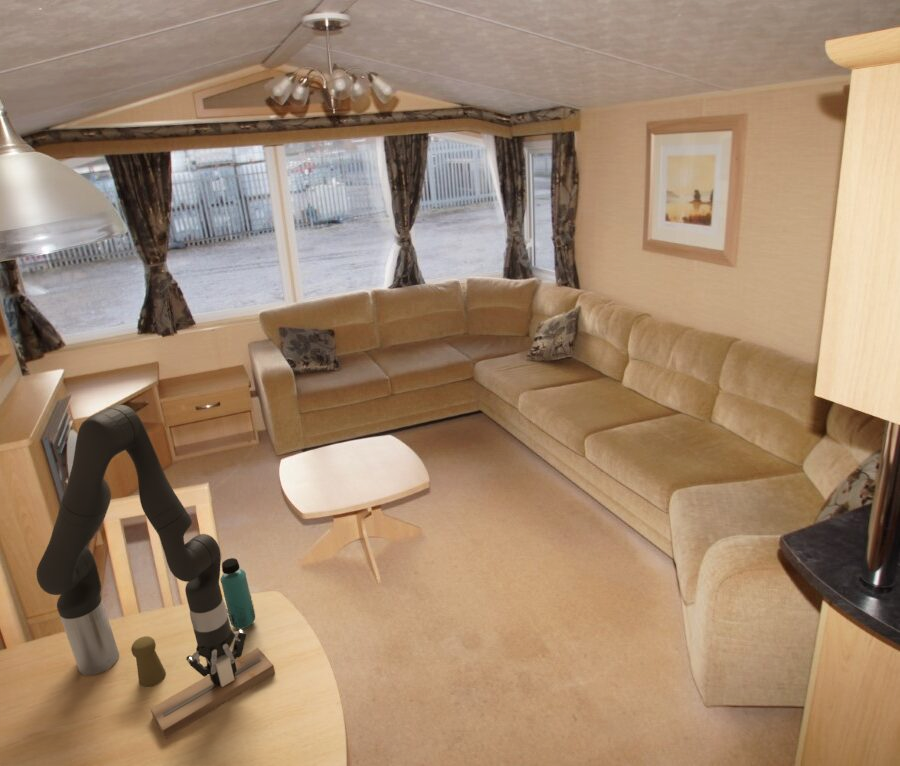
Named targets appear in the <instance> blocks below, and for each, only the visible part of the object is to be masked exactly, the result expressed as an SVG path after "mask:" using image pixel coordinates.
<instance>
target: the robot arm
mask: <svg viewBox="0 0 900 766" xmlns="http://www.w3.org/2000/svg"><path fill="white" fill-rule="evenodd" d="M146 429H147V428H146V427H145V425H144V423H143V421H142V419H141V418H140V415H138V414H137V411H135V410H134V409H133V408H131V407H130V406H128V405H125V404H115V405H113V406H110V407H107V408H106V409H104V410H101V411H100V412H97V413H95V414H92V415H90V416H89V417H87V418H86V419H85V420H84V421H82V423H81V424H80V426H79V428H78V430H77V431H78V432H77V434H76V435H77V436H76V442H75V447H74V455H73V459H72V460H73V461H72V466H71V469H70V473H69V477H68V479H67V480H68V481H67V483H66V487H65V490H64V492H63V495H62V498H61V502H60V505H59V509H58V511H57V512H58V514H57V516H56V520H55V523H54V525H53V529H52V533H51V536H50V539H49V542H48V544H47V547H46V549H45V551H44V553H43V555H42V557H41V559H40V561H39V563H38V566H37V568H36V580H37V583H38V585H39V587H40V588H41V589H42V590H43V592H45V593H47V594H48V595H52V596H59V597H58V599H57V602H56V609H57V612H58V614H59V617H60V618H59V619H60V620H61V623H62V626H63V628H64V631H65V634H66V637H67V640H68V643H69V646H70V648H71V651H72V655H73V657H74V660H75V663H76V666H77V668H78V669H77V670H78V671H79V673H80V674H81V675H83V676H95V675H98V674H99V675H100V674H101V673H104V672H106V671H108V670H109V669H111V668H112V667H113V666H114V665H115V664H116V663H117V661H119V658H120V653H119V650H118V649H119V648H118V645H117V642H116V639H115V636H114V633H113V630H112V626H111V624H110V620H109V618H108V615H107V611H106V607H105V605H104V602H103V599H102V595H101V592H102V582H101V579H100V574H99V570H98V566H97V562H96V559H95V557H94V555H93V553H92V551H91V550H90V548H88V545H89V543H90V541H92V539H93V538H94V536H95V535H96V533H97V532H98V531H99V529H100V528H101V526H102V524H103V522H104V520H105V518H106V515H107V513H108V509H109V507H110V505H111V500H112V492H111V489H110V486H109V485H108V483H107V481H106V480H105V475H106V471H107V469H108V466H109V464H110V462H111V461H112V460H113V458H114V457H116V456H117V455H118V454H121V453H123V452H124V451H126V453H127V454H128V456H129V457H130V459H131V460H132V462H133V465H134V468H135V472H136V476H137V482H138V483H137V485H138V497H139V501H140V505H141V508H142V511H143V513H144V515H145V516H146V518H147V520H148V521H149V523H150V524H151V526H152V527H153V529H154V531H155V532H156V534H157V535H158V537H159V539H160V543H161V546H162V549H163V552H164V555H165V560H166V563H167V566H168V568H169V571H170V572H171V574H172V575H173V576H174V577H175V578H176V579H178V580H179V581H182V582H186V585H185V596H186V600H187V604H188V608H189V616H190V621H191V625H192V629H193V632H194V636H195V641H196V645H197V646H196V650H195V652H193V654H192V655H187V656H186V659H185V660H186V661H187V662H188V664H189V665H190V667H191V668H192V669H194V670H195V671H196V672H197V673H199V674H200V675H201V676H202V677H203V678H205V677H207V676H209V675H210V679H211V681H212V682H213V684H217V685H219V684H220V681H219V677H218V673H217V671H216V664H217V658H218V657H220V656H222V655H226V656H227V657H230V663H231V667H232V671H233V675H234V676H235V672H236V671H237V669H236V664H235V660H237V659H238V658H240V657H242V656H243V652H244V647H245V641H246V637H247V633H246V632H245V631H244V630H243V628H239V629H238V628H237V630H236V631H233V630H232V627H231V622H230V619H229V616H228V611H227V610H228V609H227V605H226V602H225V601H224V600H225V599H224V598H223V594H222V593H223V592H222V590H221V586H220V579H221V577H220V576H221V566H222V564H221V562H222V553H221V549H220V546H219V543H218V542H217V541H216V539H215V538H214V537H213V536H211V535H210V534H208V533H207V534H206V533H201V534H197V535H195V536H193V537H192V538H191V539H190V540H188V541H187V542H186V543H185V538H184V537H185V534H186V532H187V531H188V530H189V529H190V527H191V526H192V523H193V522H192V521H193V520H192V518H191V516H190V515H189V514H190V513H188V511H187V510H186V508H185V507H184V505H183V503H182V501H180V499H179V498H178V496H177V494H176V493H175V491H174V489H173V487H172V486H171V484H170V482H169V480H168V477H167V475H166V474H165V471H164V469H163V467H162V464H161V462H160V460H159V457H158V455H157V453H156V450H155V448H154V446H153V443H152V441H151V439H150V436H149V434H148V432H147V430H146ZM233 641H234V642H233ZM232 644H233V646H232ZM231 646H232V651H231ZM200 657H203V658H205V661H206V665H205V666H204V665H203V664H202V663H200V661H201V659H200Z"/></svg>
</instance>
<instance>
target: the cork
mask: <svg viewBox="0 0 900 766" xmlns="http://www.w3.org/2000/svg"><path fill="white" fill-rule="evenodd" d="M156 647H157V646H156V641H155V639H154V638H153V637H152V636H147V635H146V636H145V635H144V636H141V637H139V638H137V639H136V640H135V641H134V642H133V643H132V644H131V648H130V651H131V654H132V656H134V657H135V659H136V667H137V675H138V677H137V678H138V683H139V686H141V687H143V688H153V687H155V686H157V685H159V684H160V683H162V682H163V680H165V678H166V676H167V675H166V674H167V672H166V669H165V668H164V665H163V664H162V662H161V659H160V657H159V656H158V654H157V651H156Z"/></svg>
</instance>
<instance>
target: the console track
mask: <svg viewBox="0 0 900 766" xmlns="http://www.w3.org/2000/svg"><path fill="white" fill-rule="evenodd" d="M235 664H236V669H237V671H236V672H235V676H234V680H233V681H232V682H230V683H228V684H227V685H225V686H223V687H222V686H221V685H220V684H219V685H217V684H213V682H212V681H211V679H210V675H209V674H208V675H207V676H205V677H203V678H201V679H200V680H198V681H196V682H194V683H193V684H191V685H189V686H187V687H186V688H184V689H182V690H180V691H178V692H177V693H175V694H173V695H172V696H170V697H168V698H166V699H165V700H163V701H161V702H160V703H157V704H156V705H154V706H152V707H150V712H151V715H152V718H153V719H154V721H155V723H156V725H157V726H158V728H159V730H160V731H161V733H162V735H163V737H164V738H165V740H166V739H167V738H169V737H171V736H173V735H175V734H176V733H178V732H180V731H182V730H183V729H185V728H186V727H188V726H190V725H191V724H193V723H195V722H196V721H198V720H199V719H201V718H203V717H204V716H206V715H208V714H210V713H211V712H213V711H215V710H216V709H218V708H220V707H222V706H224V705H225V704H226V703H228V702H230V701H231V700H233V699H234V698H236V697H239V696H240V695H241V694H244V693H245V692H247V691H248V690H250V689H251V688H253V687H255V686H257V685H259V684H260V683H261V682H263V681H264V680H266V679H268V678H270V677H272V675H273V676H274V675H275V674H276V672H275V666H274V663H272V662H271V660H269V659H268V657H267V656H266V655H265V654H264V652H262V650H261V649H260V648H259V647H256V648H255V649H253V650H250V651H249V652H247V653H246V654H244V655H242V656H241V657H238V658H236V660H235Z"/></svg>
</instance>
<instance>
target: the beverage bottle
mask: <svg viewBox="0 0 900 766" xmlns="http://www.w3.org/2000/svg"><path fill="white" fill-rule="evenodd" d="M221 569H222V570H221V571H222V573H223V574H222V575H221V577H220V578H219V582H220V583H221V588H222V593H223V596H224V600H225V601H224V602H225V605H226V609H227V611H228V612H227V614H228V618H229V622H230V625H231V626H232V627H233V628H234V629H237V630H238V629H239V628H241V629H245V628H248V627H249V626H251V625H252V624H253V623H254V622H255V620H256V616H257V615H256V611H255V606H254V601H253V598H252V595H251V590H250V588H249V582H248V578H247V573H246V571H245V570H244V569H242V568H241V567H240V564H239V561H238V559H236V558H235V557H233V558H232V557H231V558H227V559H225V560H224V561H223V562H222V564H221Z"/></svg>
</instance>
